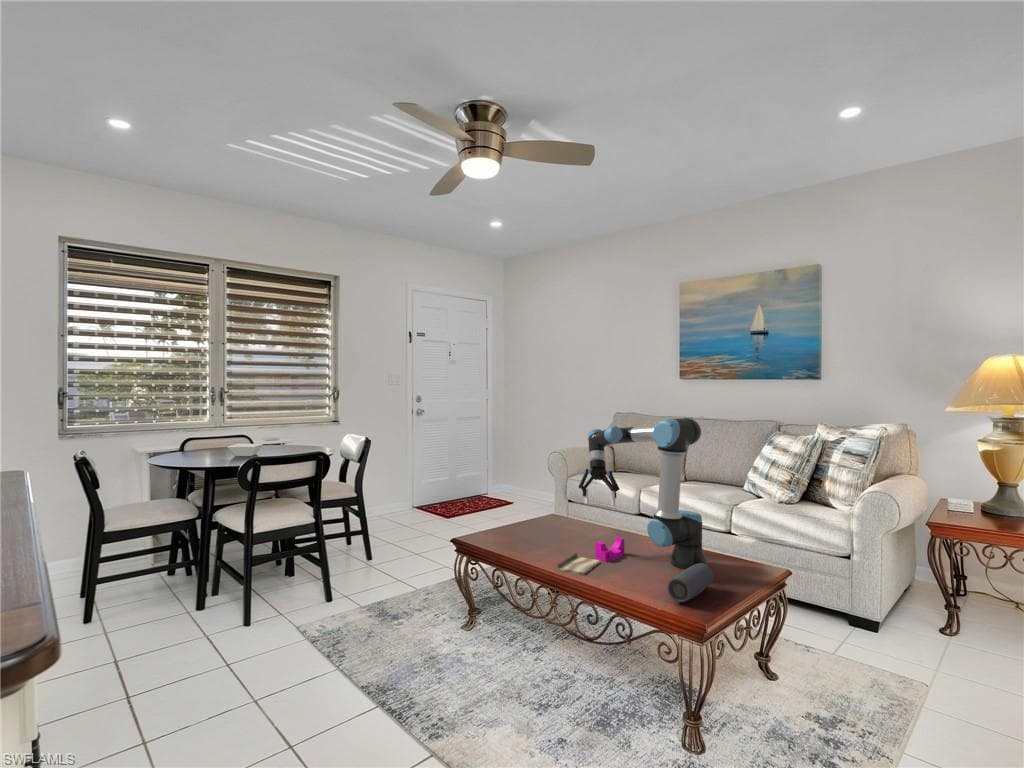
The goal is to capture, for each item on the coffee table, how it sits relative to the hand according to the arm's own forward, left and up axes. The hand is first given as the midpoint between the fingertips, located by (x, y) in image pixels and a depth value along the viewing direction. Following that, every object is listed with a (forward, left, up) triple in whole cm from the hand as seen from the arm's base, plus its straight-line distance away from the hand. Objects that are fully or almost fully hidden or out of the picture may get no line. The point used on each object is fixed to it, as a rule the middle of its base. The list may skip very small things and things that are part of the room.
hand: (600, 504), depth 255 cm
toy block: (-7, +4, -23) cm, 24 cm away
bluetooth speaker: (-49, +32, -23) cm, 63 cm away
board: (0, +23, -22) cm, 32 cm away
